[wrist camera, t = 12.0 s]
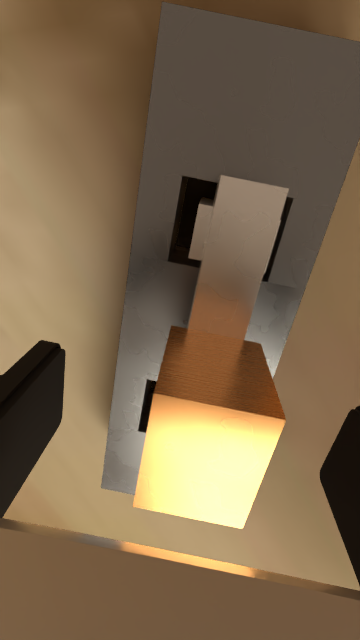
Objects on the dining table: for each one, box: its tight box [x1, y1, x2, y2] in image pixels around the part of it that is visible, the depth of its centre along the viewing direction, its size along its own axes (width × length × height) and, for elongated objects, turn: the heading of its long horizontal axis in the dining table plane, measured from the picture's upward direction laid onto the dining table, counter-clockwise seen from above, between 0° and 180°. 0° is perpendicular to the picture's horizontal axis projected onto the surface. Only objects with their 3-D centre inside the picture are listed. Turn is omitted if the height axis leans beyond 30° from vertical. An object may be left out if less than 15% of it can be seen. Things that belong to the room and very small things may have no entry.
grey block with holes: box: [101, 2, 360, 495], centre depth 18 cm, size 8×24×4 cm, turn 170°
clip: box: [133, 175, 289, 529], centre depth 14 cm, size 3×14×12 cm, turn 170°
